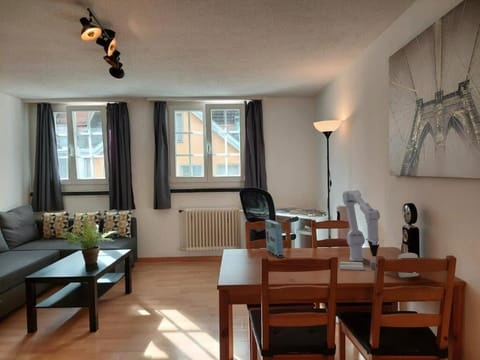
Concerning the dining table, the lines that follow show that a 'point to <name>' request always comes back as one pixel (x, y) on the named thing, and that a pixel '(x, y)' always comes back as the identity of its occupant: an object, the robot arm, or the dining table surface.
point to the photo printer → (408, 255)
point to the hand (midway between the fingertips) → (373, 254)
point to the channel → (351, 265)
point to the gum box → (274, 237)
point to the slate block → (372, 264)
